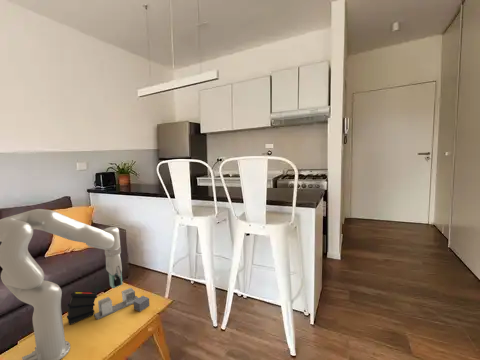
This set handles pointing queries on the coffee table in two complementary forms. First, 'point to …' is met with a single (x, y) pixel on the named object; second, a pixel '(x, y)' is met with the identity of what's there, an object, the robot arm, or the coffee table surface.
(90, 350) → the coffee table surface
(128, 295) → the rail
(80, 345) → the coffee table surface
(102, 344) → the coffee table surface
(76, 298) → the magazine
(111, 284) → the block
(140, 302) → the gray brick
